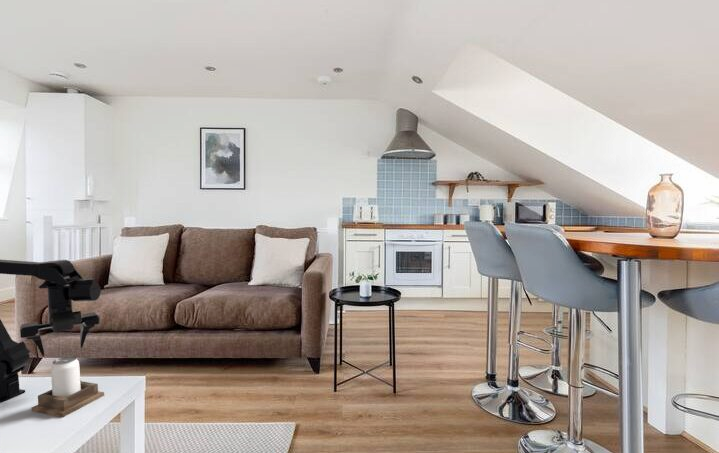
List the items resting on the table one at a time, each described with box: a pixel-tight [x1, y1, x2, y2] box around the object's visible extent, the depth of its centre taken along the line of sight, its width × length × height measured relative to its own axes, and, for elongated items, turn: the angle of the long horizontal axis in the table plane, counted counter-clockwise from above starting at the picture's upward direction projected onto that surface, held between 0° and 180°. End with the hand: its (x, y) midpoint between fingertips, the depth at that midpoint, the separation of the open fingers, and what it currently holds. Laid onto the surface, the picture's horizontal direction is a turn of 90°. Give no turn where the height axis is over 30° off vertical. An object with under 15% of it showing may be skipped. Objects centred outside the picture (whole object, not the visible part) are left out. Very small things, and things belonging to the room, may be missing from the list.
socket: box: [31, 380, 105, 418], centre depth 109 cm, size 12×12×4 cm
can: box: [50, 355, 81, 398], centre depth 108 cm, size 6×6×12 cm
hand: (62, 351), depth 114 cm, fingers open, 9 cm apart
